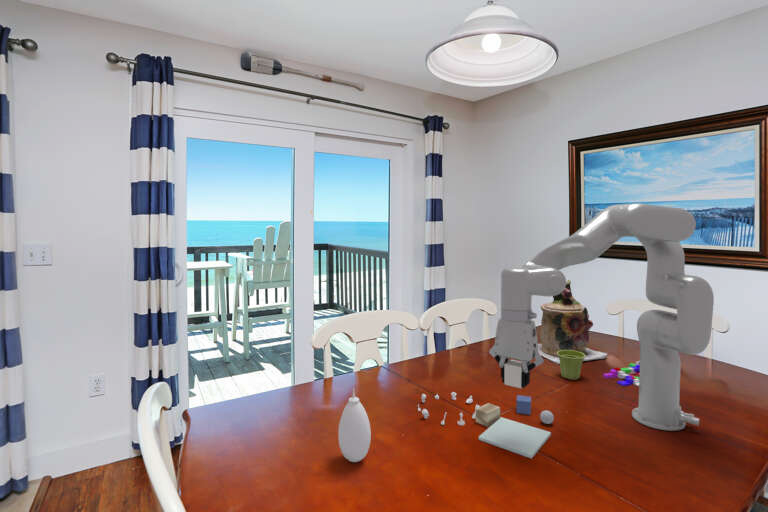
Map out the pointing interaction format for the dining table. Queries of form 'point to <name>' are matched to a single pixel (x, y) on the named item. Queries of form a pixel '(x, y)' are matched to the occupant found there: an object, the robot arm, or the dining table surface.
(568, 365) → the plant pot
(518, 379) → the cream block
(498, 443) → the seafoam tile
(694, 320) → the robot arm
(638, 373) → the building block set
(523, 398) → the blue cube
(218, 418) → the dining table surface
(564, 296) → the cookie jar
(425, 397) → the game piece set
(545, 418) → the grey ball
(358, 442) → the white air blower bulb
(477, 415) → the sand wood block
